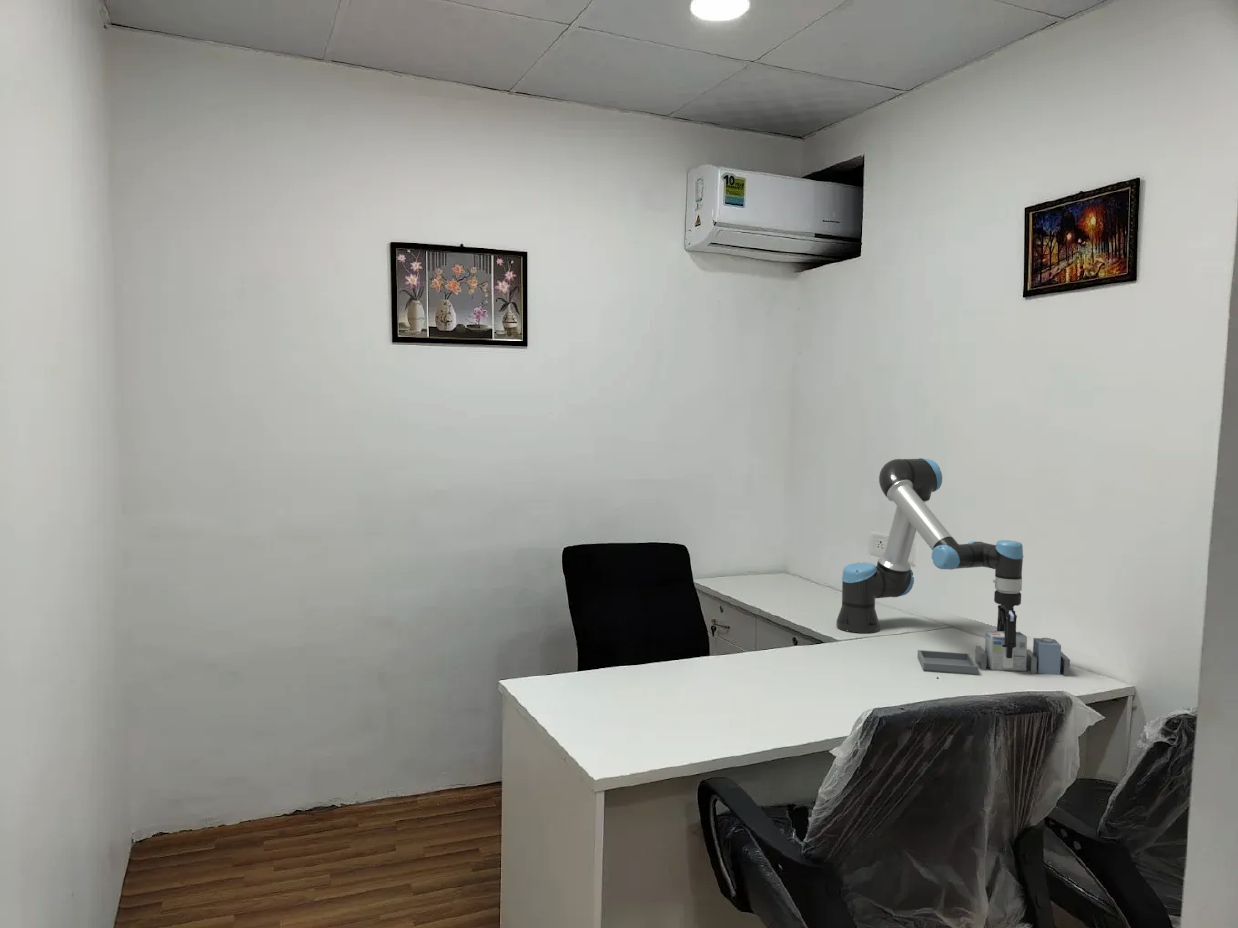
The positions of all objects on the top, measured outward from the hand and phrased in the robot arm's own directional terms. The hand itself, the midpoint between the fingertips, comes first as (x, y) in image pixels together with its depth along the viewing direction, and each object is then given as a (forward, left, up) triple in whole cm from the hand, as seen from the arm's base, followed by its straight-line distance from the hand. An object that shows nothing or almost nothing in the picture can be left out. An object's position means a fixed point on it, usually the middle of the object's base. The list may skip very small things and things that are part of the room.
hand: (1005, 663), depth 260 cm
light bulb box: (0, 0, -1) cm, 1 cm away
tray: (+3, -18, -1) cm, 18 cm away
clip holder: (0, +5, -1) cm, 5 cm away
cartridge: (0, +12, -1) cm, 12 cm away
